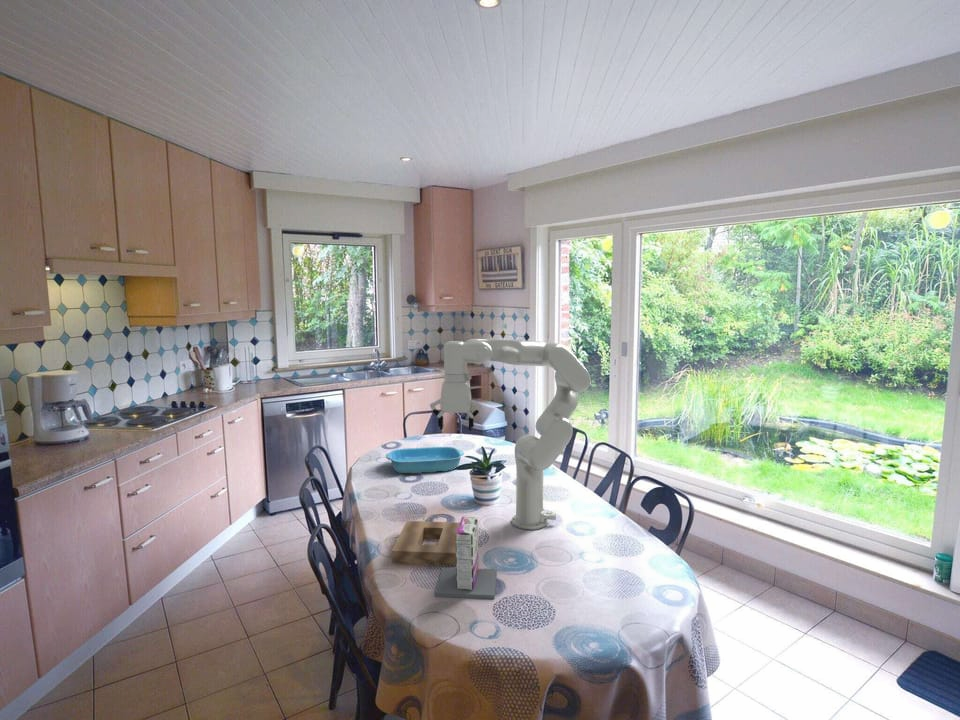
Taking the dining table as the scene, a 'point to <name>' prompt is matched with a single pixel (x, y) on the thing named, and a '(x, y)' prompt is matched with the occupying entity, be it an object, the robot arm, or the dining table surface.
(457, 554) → the candy bar box
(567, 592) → the dining table surface
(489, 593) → the charcoal mat
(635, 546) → the dining table surface
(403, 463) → the casserole dish
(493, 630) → the dining table surface
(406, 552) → the pocket holder
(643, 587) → the dining table surface
